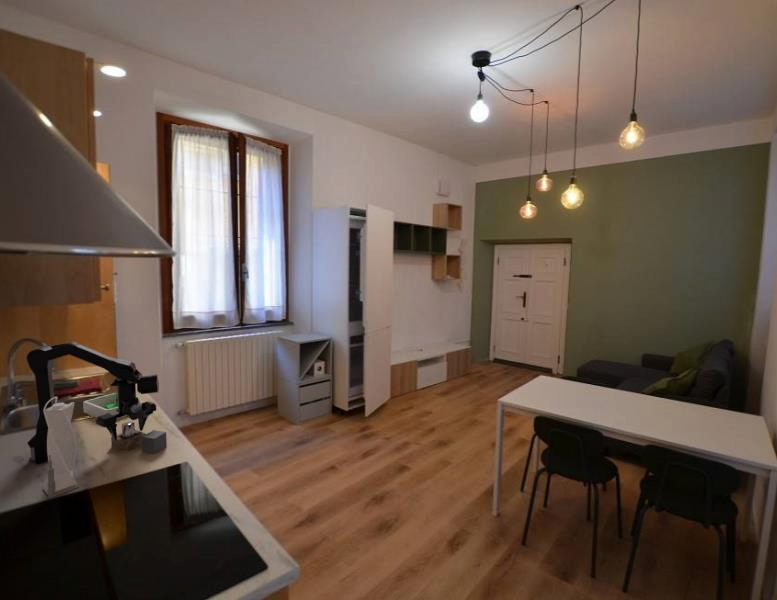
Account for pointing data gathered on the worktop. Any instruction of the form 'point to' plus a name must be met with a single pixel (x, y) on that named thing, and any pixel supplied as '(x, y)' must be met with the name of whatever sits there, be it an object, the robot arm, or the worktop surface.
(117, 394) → the mechanical part
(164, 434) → the grey cube
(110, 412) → the part corral
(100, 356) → the robot arm
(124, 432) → the grey cylinder
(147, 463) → the worktop surface
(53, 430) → the white tall twisted piece
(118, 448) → the socket block
